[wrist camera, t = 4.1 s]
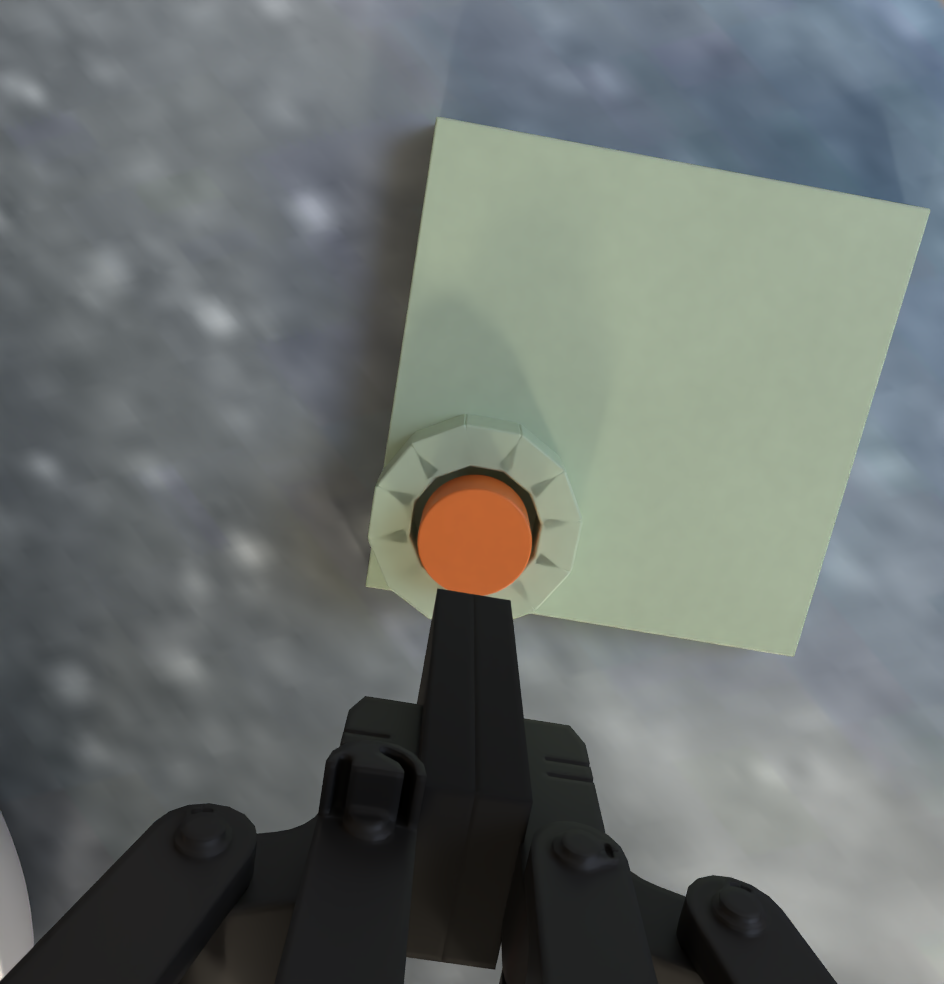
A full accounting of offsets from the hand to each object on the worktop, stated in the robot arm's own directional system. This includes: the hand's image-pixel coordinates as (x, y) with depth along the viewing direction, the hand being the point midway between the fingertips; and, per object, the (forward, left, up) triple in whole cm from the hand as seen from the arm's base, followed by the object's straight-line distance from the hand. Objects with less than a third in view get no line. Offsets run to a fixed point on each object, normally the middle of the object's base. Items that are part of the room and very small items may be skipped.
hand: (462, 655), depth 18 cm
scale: (-4, -4, -11) cm, 12 cm away
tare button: (0, 0, -8) cm, 8 cm away
